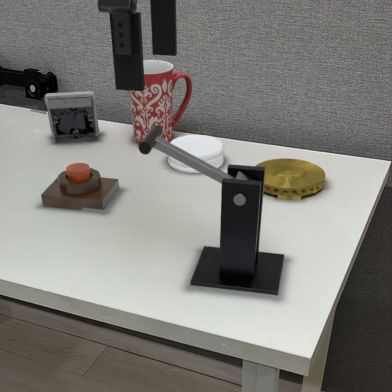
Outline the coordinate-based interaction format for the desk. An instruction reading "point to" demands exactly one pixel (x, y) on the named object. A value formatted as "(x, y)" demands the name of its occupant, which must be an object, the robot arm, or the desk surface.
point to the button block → (80, 192)
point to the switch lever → (183, 156)
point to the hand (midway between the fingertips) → (149, 71)
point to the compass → (292, 178)
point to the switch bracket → (240, 240)
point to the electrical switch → (72, 116)
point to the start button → (78, 172)
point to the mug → (157, 100)
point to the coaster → (198, 151)
